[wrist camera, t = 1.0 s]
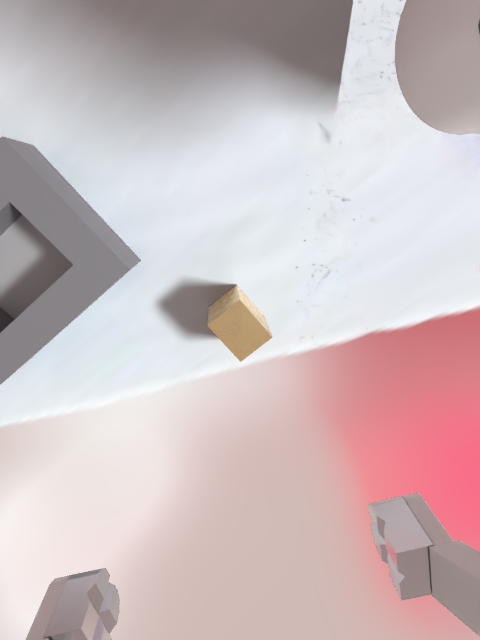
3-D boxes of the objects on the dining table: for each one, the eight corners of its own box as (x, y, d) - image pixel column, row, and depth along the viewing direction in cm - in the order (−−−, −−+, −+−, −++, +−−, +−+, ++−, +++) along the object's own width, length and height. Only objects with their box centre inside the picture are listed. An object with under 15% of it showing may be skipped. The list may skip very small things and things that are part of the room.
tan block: (236, 284, 38) (239, 299, 33) (264, 317, 40) (272, 337, 34) (208, 307, 39) (207, 325, 33) (237, 338, 40) (240, 361, 35)
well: (33, 145, 33) (2, 136, 28) (140, 260, 37) (129, 269, 32) (-87, 268, 36) (-133, 279, 31) (25, 362, 40) (0, 384, 35)
